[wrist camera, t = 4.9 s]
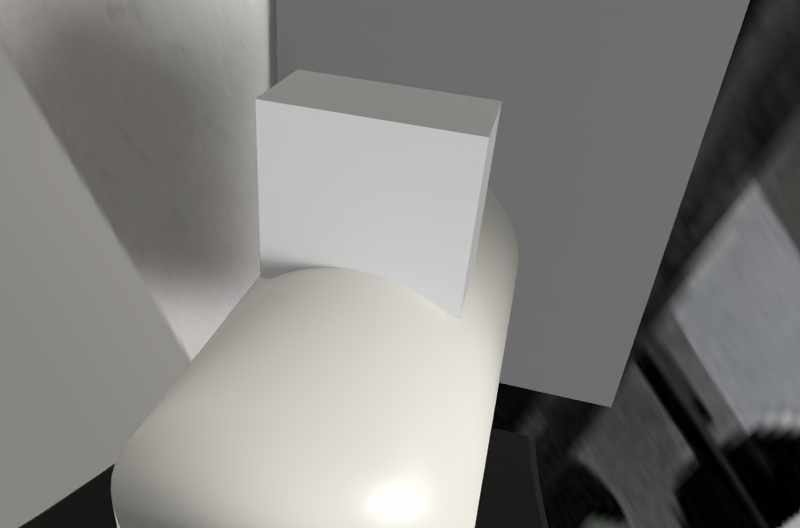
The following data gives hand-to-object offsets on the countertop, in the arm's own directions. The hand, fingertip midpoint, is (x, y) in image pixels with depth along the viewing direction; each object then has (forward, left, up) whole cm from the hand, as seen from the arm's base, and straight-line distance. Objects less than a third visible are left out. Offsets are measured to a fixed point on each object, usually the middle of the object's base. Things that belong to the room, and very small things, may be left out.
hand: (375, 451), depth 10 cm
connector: (0, 0, -1) cm, 1 cm away
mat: (0, 0, -9) cm, 9 cm away
